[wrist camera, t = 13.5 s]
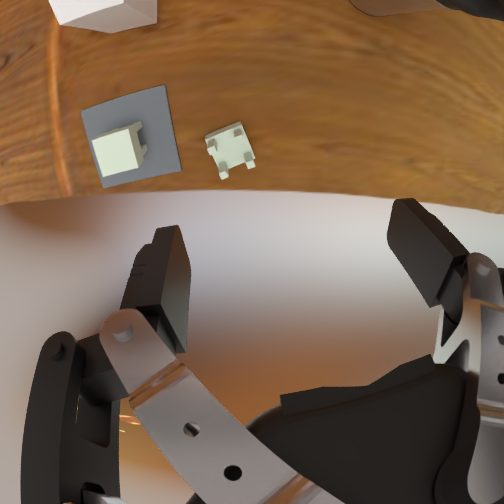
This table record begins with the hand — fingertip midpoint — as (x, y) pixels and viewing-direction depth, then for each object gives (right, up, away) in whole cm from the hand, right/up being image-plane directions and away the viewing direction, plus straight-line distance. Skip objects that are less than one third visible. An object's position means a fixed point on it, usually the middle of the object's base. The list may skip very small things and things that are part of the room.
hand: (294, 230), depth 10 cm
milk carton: (-18, +34, +14) cm, 40 cm away
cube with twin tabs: (-20, +16, +26) cm, 37 cm away
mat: (-20, +17, +27) cm, 37 cm away
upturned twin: (-5, +16, +30) cm, 34 cm away
